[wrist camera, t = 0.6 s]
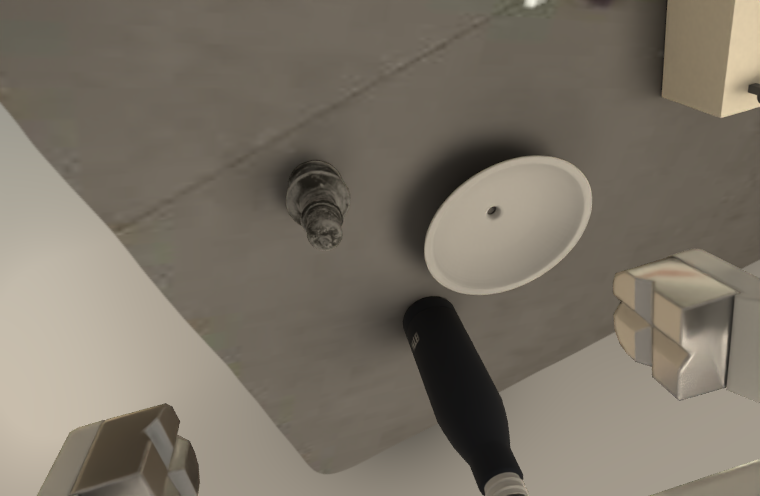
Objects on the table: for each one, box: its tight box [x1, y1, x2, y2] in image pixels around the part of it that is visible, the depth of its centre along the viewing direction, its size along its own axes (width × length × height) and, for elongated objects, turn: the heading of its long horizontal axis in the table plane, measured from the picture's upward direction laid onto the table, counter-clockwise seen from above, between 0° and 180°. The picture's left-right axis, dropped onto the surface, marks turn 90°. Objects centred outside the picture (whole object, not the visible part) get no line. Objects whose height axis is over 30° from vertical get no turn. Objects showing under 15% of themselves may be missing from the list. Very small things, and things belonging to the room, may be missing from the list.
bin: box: [662, 0, 760, 118], centre depth 45 cm, size 11×8×11 cm
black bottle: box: [403, 297, 529, 496], centre depth 48 cm, size 6×6×30 cm
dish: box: [424, 155, 592, 295], centre depth 53 cm, size 18×14×5 cm
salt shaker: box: [286, 160, 350, 251], centre depth 45 cm, size 6×6×12 cm
